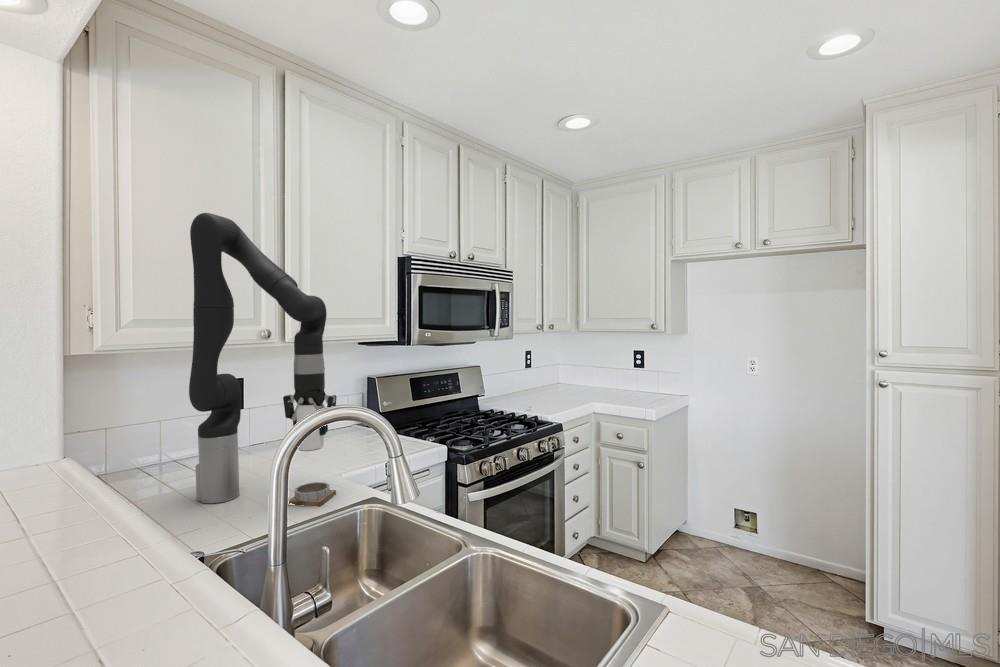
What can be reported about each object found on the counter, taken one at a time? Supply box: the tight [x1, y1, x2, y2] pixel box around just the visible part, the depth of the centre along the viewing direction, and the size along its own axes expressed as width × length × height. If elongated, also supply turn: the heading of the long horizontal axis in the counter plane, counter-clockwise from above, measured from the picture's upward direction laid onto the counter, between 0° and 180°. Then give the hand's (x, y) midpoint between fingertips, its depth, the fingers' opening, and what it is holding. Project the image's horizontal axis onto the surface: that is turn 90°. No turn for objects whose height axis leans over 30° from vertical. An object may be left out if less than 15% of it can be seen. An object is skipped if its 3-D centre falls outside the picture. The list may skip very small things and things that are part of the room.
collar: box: [294, 481, 331, 501], centre depth 129 cm, size 9×9×2 cm
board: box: [288, 489, 337, 508], centre depth 129 cm, size 9×9×1 cm
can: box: [297, 404, 325, 452], centre depth 128 cm, size 6×6×12 cm
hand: (310, 434), depth 128 cm, fingers closed on can, 6 cm apart
